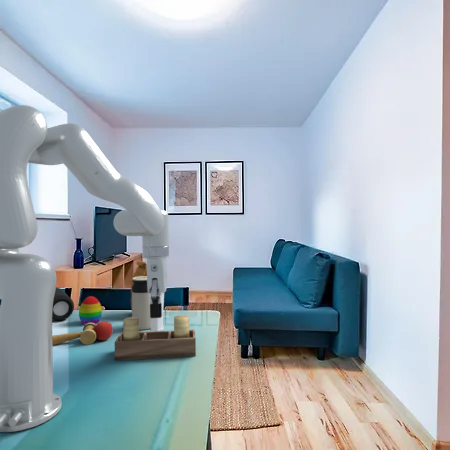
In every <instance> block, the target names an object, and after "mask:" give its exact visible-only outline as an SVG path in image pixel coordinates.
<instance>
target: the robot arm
mask: <svg viewBox="0 0 450 450" xmlns="http://www.w3.org/2000/svg"><path fill="white" fill-rule="evenodd" d="M28 164H35V165H44V166H58V165H64V166H65V167H66V168H67V170H69V172H70V173H71V174H72V175H73V177H75V178H76V180H77V181H78V182H79V184H81V185H82V187H83V188H84V189H85V190H86V192H87V193H89V194H90V195H92V196H94V197H96V198H98V199H101V200H104V201H108V202H111V203H113V204H116V205H118V206H120V207H122V208H123V210H120V211H118V212H117V213H116V214H115V216H114V217H113V218H114V219H113V228H114V229H115V231H116V232H117V233H119V234H120V235H122V236H125V237H126V236H127V237H142V238H141V239H142V241H141V242H142V249H141V250H142V259H146V264H147V289H148V293H150V294H151V297H150V318H161V317H162V303H161V292H163V293H164V294H165V292H167V288H168V284H167V282H168V281H167V258H170V245H169V244H170V240H169V238H170V237H169V236H170V235H169V233H170V232H169V213H168V211H166V210H164V209H161V208H160V207H159V206H158V204H157V203H156V201H155V200H154V198H153V197H152V196H151V195H150V194H149V193H148V192H147V191H146V190H145V189H144V188H142V187H141V186H139V185H138V184H136V183H135V182H133V181H132V180H131V179H129V178H127V177H126V176H124V175H123V174H121V173H119V171H118V170H117V169H116V168H115V167H114V166H113V164H112V163H111V162H110V161H109V159H108V158H107V156H106V155H105V154H104V152H103V151H102V150H101V149H100V147H99V146H98V144H97V143H96V141H94V139H93V138H92V137H91V135H90V134H89V133H88V131H87V130H86V129H85V128H84V127H83V126H81V125H79V124H77V123H62V124H59V125H55V126H51V127H48V124H47V121H46V118H45V116H44V114H43V113H42V112H41V111H39V110H38V109H37V108H35V107H33V106H30V105H26V104H25V105H24V104H22V105H21V104H20V105H19V104H17V105H14V106H11V107H7V108H4V109H2V110H0V300H1V302H0V433H11V432H12V433H13V432H19V431H24V430H25V431H26V430H28V429H31V428H34V427H38V426H39V425H42V424H43V423H46V422H48V421H49V420H51V419H52V418H54V417H55V416H56V415H57V414H58V413H59V411H60V410H61V408H62V404H63V403H62V401H63V400H62V397H60V396H59V395H58V394H56V393H54V369H53V366H54V364H53V358H54V357H53V356H54V355H53V354H54V353H53V351H54V350H53V346H54V345H52V336H53V319H52V308H53V300H54V295H55V289H56V288H57V273H56V270H55V268H54V266H53V264H52V263H51V262H50V261H49V260H47V258H44V257H42V256H40V255H35V254H33V253H32V254H31V253H20V249H21V248H25V247H27V246H29V245H31V244H32V243H33V242H34V240H35V239H36V238H37V235H38V231H39V230H38V221H37V217H36V213H35V209H34V204H33V200H32V196H31V193H30V188H29V182H28V175H27V169H28ZM152 278H153V279H152ZM150 289H151V290H150ZM157 290H159V292H158V293H157ZM157 295H158V296H157Z"/></svg>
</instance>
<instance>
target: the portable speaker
mask: <svg viewBox="0 0 450 450" xmlns="http://www.w3.org/2000/svg"><path fill="white" fill-rule="evenodd" d="M74 310H75V304H74V301H73V299H72V298H71V297H70V296H69V295H68V294H67V293H66V292H65V291H64V290H63V288H59V287H56V289H55V295H54V300H53V308H52V321H57V322H59V321H60V322H61V321H65V320H67V319H68V318H69V317H71V316H72V314H73V312H74Z"/></svg>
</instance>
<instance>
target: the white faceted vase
mask: <svg viewBox="0 0 450 450" xmlns="http://www.w3.org/2000/svg"><path fill="white" fill-rule="evenodd" d="M152 279H153V278H152ZM150 290H151V289H150ZM158 292H159V290H157V293H158ZM157 296H158V295H157ZM150 297H151V294H150V293H149V302H150ZM164 299H165V293H163V292H161V303H162V317H161V318H151V328H150V329H149V332H153V331H164V324H163V320H164V319H163V317H164V303H165V300H164Z"/></svg>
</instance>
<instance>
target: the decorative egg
mask: <svg viewBox="0 0 450 450" xmlns="http://www.w3.org/2000/svg"><path fill="white" fill-rule="evenodd" d="M78 310H79V311H78V317H79V320H80V322H81V323H82V324H84V325H86V324H87V323H94V324H95V325H96V324H98V323H99V322H100V320H101V318H102V314H103V309H102V304H101V303H100V301H99V300H98V298H96V297H95V296H92V295H91V296H87V297H86V298H85V299H84V300H82V302H81V304H80V307H79V309H78Z"/></svg>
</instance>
